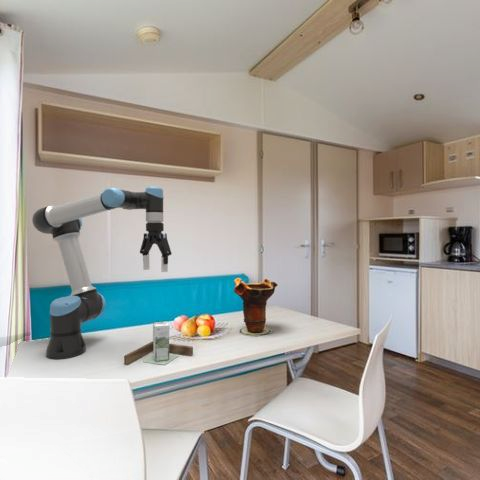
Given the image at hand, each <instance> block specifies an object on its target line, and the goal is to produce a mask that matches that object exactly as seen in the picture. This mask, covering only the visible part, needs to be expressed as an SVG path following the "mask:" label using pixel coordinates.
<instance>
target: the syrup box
mask: <svg viewBox="0 0 480 480" xmlns="http://www.w3.org/2000/svg"><path fill="white" fill-rule="evenodd" d="M152 342H153V351H152V354H153V355H152V356H153V357H154V360H155V362H157V361H164V360H169V355H170V353H169V344H170V325H169V323H168V321H159V322H152Z"/></svg>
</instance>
